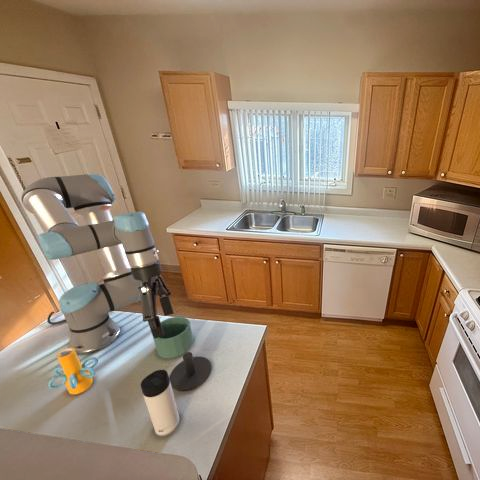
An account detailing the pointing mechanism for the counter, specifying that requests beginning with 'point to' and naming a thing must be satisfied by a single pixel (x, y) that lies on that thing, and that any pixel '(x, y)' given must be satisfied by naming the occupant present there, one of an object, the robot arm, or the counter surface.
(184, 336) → the cup
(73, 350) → the orange toy with loops
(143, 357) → the counter surface
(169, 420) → the travel mug
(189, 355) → the lid
